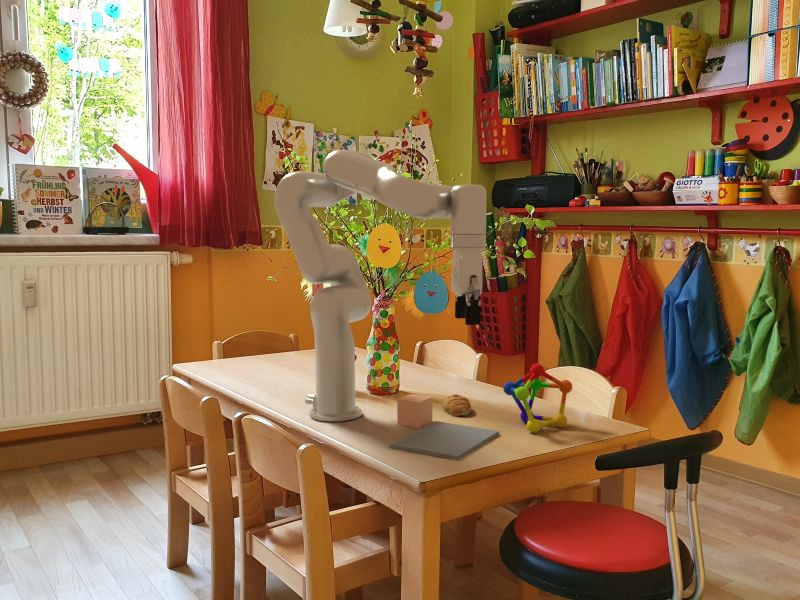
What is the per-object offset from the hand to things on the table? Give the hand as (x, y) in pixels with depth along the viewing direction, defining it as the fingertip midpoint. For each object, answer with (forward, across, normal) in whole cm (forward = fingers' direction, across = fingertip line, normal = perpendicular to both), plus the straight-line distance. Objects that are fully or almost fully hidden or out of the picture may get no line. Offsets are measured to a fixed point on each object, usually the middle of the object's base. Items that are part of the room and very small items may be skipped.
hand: (467, 321), depth 159 cm
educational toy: (+25, -4, +17) cm, 31 cm away
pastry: (+26, -19, +3) cm, 32 cm away
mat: (+25, +4, -5) cm, 26 cm away
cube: (+26, -11, -10) cm, 30 cm away
